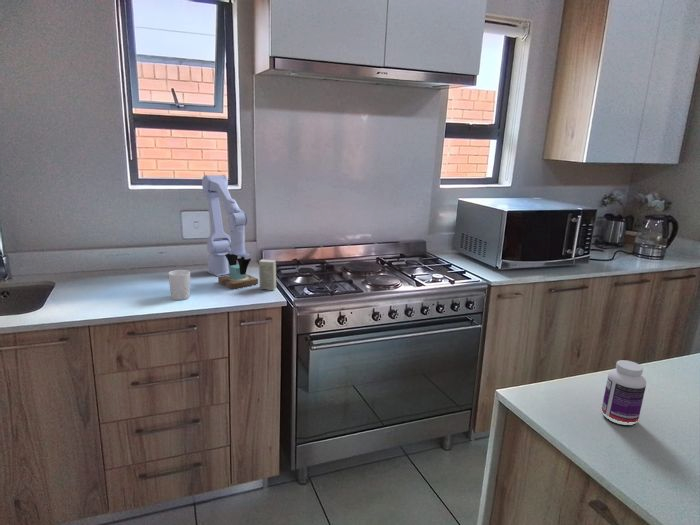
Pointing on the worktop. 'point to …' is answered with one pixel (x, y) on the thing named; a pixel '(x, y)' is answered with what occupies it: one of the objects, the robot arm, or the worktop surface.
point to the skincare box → (267, 274)
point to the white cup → (179, 284)
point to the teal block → (235, 272)
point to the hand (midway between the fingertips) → (238, 272)
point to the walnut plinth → (237, 282)
